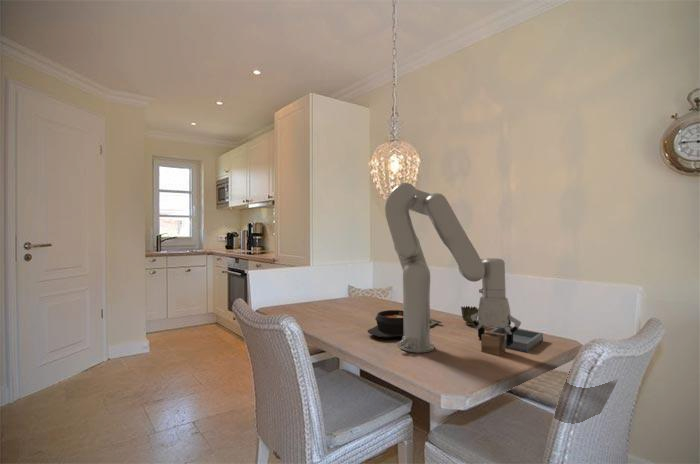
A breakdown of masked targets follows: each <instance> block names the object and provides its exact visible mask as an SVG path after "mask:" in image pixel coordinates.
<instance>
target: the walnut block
mask: <svg viewBox="0 0 700 464" xmlns="http://www.w3.org/2000/svg"><path fill="white" fill-rule="evenodd" d="M489 331H490V330H489ZM489 331H487V332H485V333H484V334H482V335H481V342H480V343H481V344H480V345H481V350H480V351H481V353H486V354H489V355H490V354H491V355H494V356H497V357H498V356H500V355H502V354H503V353H505V352H506V348H505V334H499V333H494V332H489Z"/></svg>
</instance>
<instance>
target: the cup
mask: <svg viewBox="0 0 700 464" xmlns="http://www.w3.org/2000/svg"><path fill="white" fill-rule="evenodd" d="M460 309H461V316H462V319H463V321H464V322H465V326H468V327H472V326H475V325H474V323H473V321H472V319H471V315H473V314H476V313H478V310H479V307H477V306H470V305H468V306H467V305H466V306H465V305H464V306H461V307H460ZM476 319H477V320H478V317H476Z"/></svg>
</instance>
